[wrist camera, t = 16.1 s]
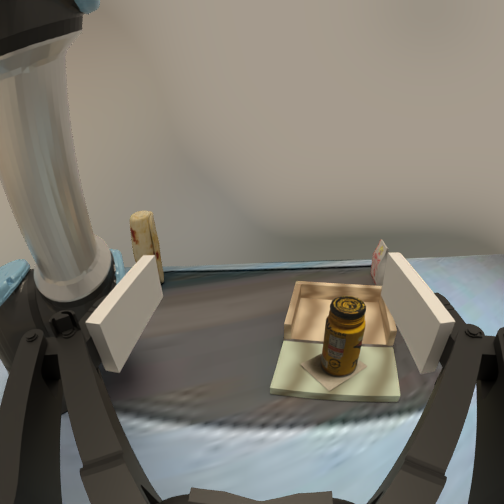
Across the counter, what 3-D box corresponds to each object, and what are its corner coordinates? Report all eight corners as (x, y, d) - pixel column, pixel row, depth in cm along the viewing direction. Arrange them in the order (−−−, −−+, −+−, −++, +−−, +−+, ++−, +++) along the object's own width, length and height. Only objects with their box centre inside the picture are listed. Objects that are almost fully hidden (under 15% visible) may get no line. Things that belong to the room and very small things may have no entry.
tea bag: (383, 273, 76) (387, 239, 72) (389, 285, 69) (394, 249, 66) (370, 273, 76) (374, 238, 72) (375, 285, 70) (380, 248, 66)
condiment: (367, 366, 43) (381, 306, 38) (329, 391, 39) (339, 329, 35) (338, 345, 49) (345, 286, 44) (300, 365, 45) (303, 304, 41)
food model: (147, 275, 82) (134, 208, 74) (169, 274, 82) (158, 205, 74) (137, 292, 73) (121, 218, 65) (161, 292, 73) (147, 215, 65)
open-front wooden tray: (270, 393, 42) (269, 372, 40) (295, 300, 67) (296, 280, 65) (397, 401, 37) (406, 380, 35) (382, 305, 61) (385, 286, 60)
